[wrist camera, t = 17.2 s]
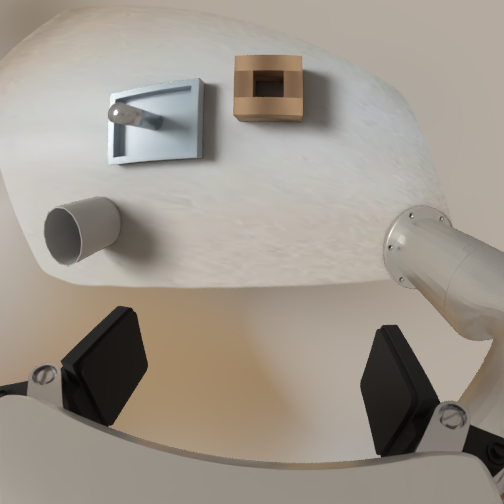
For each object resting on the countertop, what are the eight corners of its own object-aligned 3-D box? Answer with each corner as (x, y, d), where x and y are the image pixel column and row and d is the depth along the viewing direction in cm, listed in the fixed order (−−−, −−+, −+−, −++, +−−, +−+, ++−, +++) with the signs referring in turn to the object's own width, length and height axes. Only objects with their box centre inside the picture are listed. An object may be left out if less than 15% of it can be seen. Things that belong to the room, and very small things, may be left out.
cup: (121, 198, 38) (80, 209, 29) (121, 248, 41) (84, 270, 31) (82, 195, 39) (41, 205, 29) (84, 242, 41) (46, 260, 32)
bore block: (300, 68, 30) (302, 56, 26) (300, 122, 32) (303, 115, 28) (240, 68, 31) (234, 56, 26) (239, 121, 33) (233, 114, 29)
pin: (162, 113, 33) (125, 100, 23) (162, 129, 34) (124, 120, 24) (148, 115, 33) (108, 104, 24) (147, 131, 34) (107, 124, 24)
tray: (204, 83, 32) (199, 77, 29) (202, 157, 35) (196, 157, 33) (119, 97, 33) (110, 94, 31) (117, 164, 36) (108, 165, 34)
